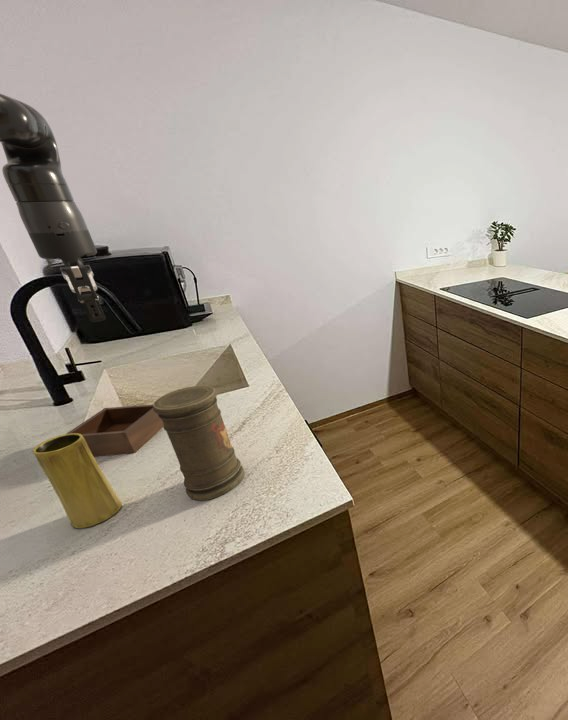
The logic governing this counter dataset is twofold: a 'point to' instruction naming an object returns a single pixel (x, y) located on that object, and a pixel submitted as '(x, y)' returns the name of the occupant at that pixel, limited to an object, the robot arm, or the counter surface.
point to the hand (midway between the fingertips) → (97, 316)
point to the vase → (77, 480)
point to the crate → (119, 429)
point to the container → (200, 441)
